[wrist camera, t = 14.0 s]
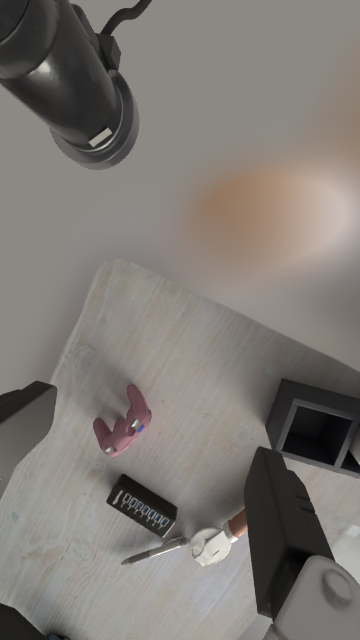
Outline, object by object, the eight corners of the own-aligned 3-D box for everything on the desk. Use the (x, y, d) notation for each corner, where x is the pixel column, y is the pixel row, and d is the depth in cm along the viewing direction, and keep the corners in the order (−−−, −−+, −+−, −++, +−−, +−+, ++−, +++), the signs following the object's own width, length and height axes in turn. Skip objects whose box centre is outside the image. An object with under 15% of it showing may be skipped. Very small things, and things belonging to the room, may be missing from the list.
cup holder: (282, 378, 38) (293, 397, 32) (394, 408, 36) (427, 434, 31) (265, 427, 39) (273, 454, 34) (371, 458, 38) (398, 491, 32)
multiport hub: (165, 525, 45) (162, 539, 43) (110, 491, 45) (105, 502, 43) (178, 508, 44) (176, 521, 42) (122, 473, 44) (117, 483, 42)
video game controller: (114, 429, 45) (114, 469, 39) (91, 419, 42) (87, 460, 36) (153, 391, 42) (159, 427, 36) (130, 379, 40) (132, 415, 34)
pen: (191, 536, 45) (190, 545, 43) (124, 560, 48) (121, 569, 46) (188, 532, 45) (187, 540, 43) (121, 556, 48) (118, 564, 46)
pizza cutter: (273, 461, 41) (278, 476, 38) (301, 487, 41) (309, 503, 38) (183, 535, 45) (181, 553, 42) (209, 558, 45) (209, 578, 42)
